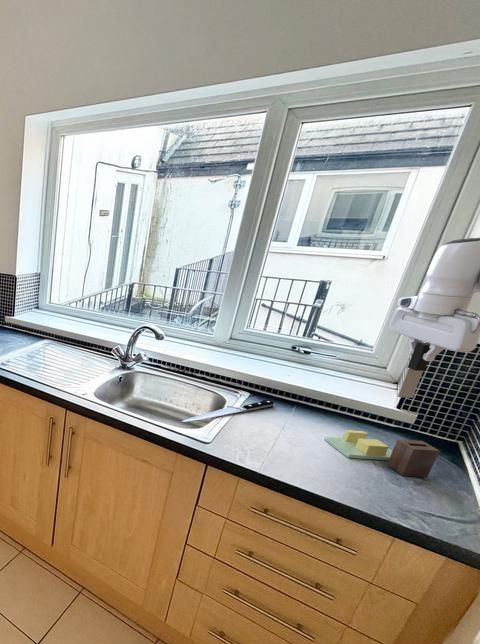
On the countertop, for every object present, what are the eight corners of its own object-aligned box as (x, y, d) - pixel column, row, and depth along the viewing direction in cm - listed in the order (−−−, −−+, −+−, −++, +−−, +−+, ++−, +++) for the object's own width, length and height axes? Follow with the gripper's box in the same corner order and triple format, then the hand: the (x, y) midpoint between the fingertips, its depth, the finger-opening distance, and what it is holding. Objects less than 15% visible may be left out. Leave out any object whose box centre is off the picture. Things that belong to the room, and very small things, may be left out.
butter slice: (360, 440, 125) (364, 431, 124) (364, 442, 124) (368, 433, 123) (342, 438, 125) (345, 429, 124) (346, 441, 124) (349, 432, 123)
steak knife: (168, 420, 139) (169, 413, 139) (260, 402, 151) (261, 396, 150) (181, 426, 135) (182, 419, 134) (275, 407, 146) (276, 401, 145)
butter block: (373, 448, 120) (377, 439, 119) (385, 456, 117) (388, 446, 116) (354, 447, 121) (358, 438, 120) (365, 454, 117) (369, 445, 116)
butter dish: (374, 443, 125) (375, 440, 125) (402, 461, 116) (404, 458, 116) (324, 439, 127) (325, 436, 126) (348, 457, 118) (349, 454, 117)
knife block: (410, 466, 114) (422, 440, 111) (427, 477, 109) (439, 450, 106) (386, 464, 114) (397, 439, 112) (402, 475, 110) (413, 449, 107)
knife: (408, 395, 114) (429, 342, 109) (415, 399, 112) (437, 345, 106) (393, 395, 114) (414, 342, 109) (401, 398, 112) (422, 344, 107)
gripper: (499, 315, 94) (474, 372, 99) (419, 298, 113) (401, 347, 118) (468, 314, 95) (444, 371, 100) (393, 298, 114) (376, 346, 119)
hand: (420, 358), depth 109 cm, fingers closed on knife, 2 cm apart
